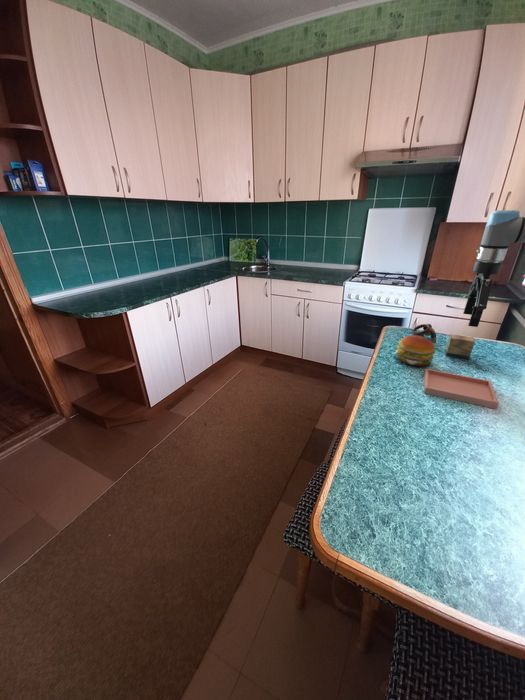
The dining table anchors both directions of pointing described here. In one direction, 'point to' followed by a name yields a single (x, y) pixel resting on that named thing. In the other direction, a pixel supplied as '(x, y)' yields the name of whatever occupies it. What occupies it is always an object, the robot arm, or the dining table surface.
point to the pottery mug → (425, 331)
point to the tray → (460, 388)
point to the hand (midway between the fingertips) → (470, 319)
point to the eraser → (459, 346)
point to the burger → (415, 350)
